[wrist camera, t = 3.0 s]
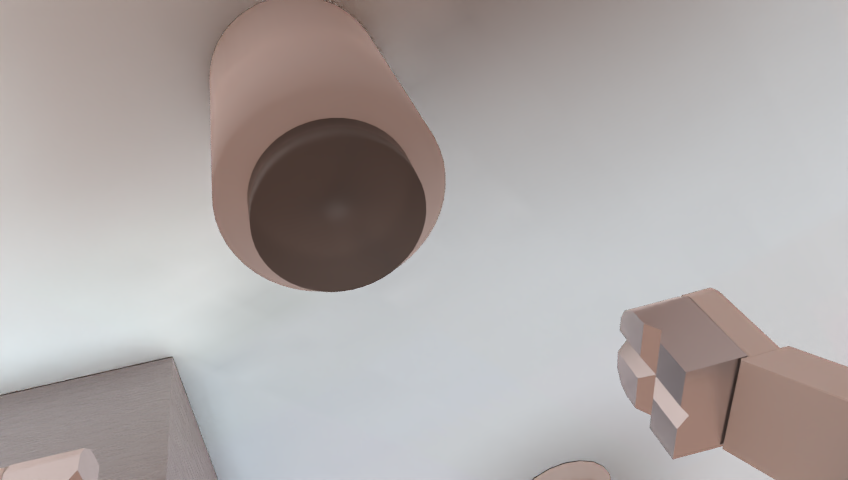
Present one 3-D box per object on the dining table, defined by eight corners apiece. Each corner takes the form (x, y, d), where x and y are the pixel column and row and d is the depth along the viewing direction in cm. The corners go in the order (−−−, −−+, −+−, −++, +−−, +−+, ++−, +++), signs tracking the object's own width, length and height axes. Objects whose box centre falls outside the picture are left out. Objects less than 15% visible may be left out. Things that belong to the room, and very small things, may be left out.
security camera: (371, -17, 20) (451, 82, 14) (390, 144, 23) (464, 289, 17) (189, 10, 19) (182, 129, 13) (231, 173, 22) (244, 340, 16)
